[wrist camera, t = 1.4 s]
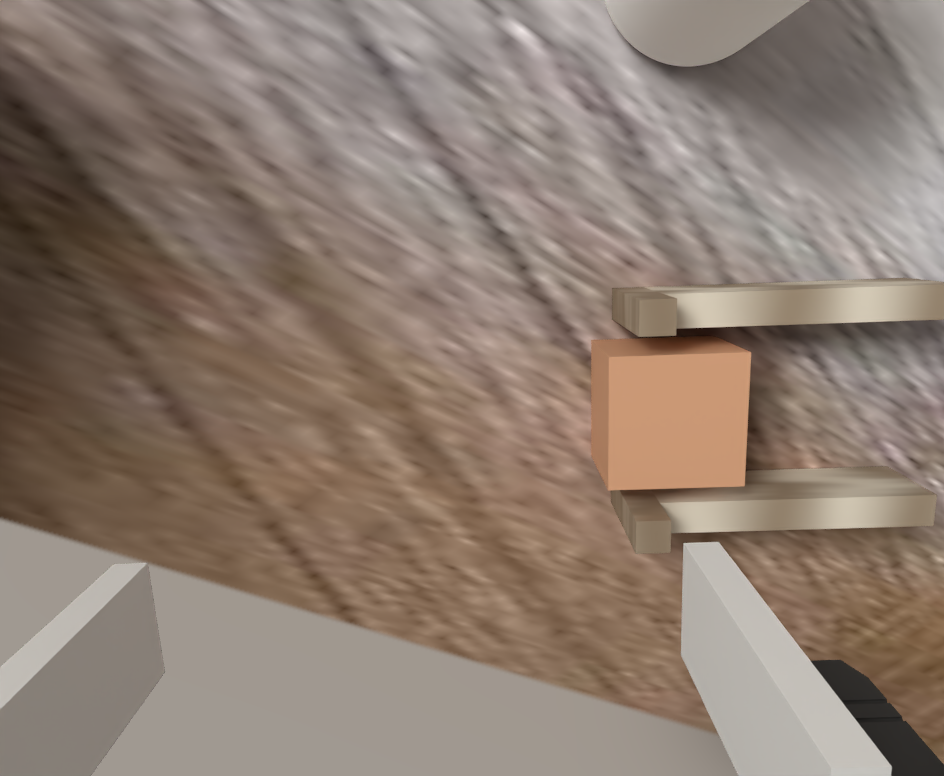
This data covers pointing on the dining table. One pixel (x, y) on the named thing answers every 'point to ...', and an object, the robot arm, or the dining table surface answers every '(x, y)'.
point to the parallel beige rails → (788, 490)
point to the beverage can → (695, 26)
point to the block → (669, 412)
